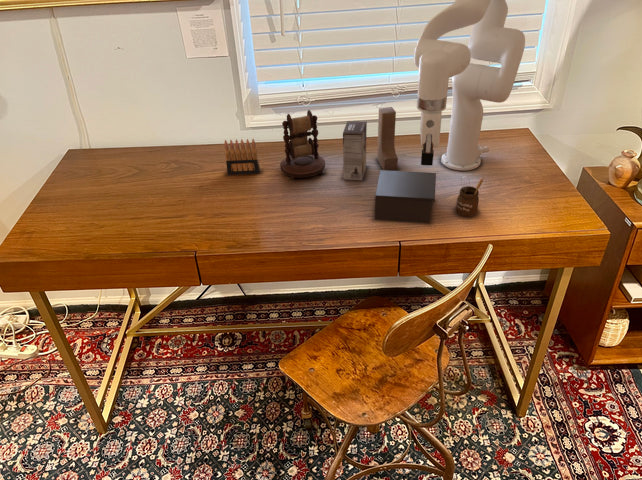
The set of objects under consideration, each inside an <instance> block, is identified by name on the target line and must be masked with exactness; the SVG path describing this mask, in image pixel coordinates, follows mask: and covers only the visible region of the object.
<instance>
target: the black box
mask: <svg viewBox="0 0 642 480" xmlns="http://www.w3.org/2000/svg"><path fill="white" fill-rule="evenodd" d="M374 201H375V202H374V221H391V222H402V223H403V222H405V223H417V224H419V223H421V224H430V221H431V213H432V204H433V201H421V200H404V199H386V198H375V197H374Z"/></svg>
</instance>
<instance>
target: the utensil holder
mask: <svg viewBox="0 0 642 480" xmlns="http://www.w3.org/2000/svg"><path fill="white" fill-rule="evenodd" d="M466 179H467V180H468V181H470V177H469V175H467V174H464V175H461V179H460V180H463V182H466ZM484 179H485V177H483V178H481V179H480V180H479V182H478V184H477V185H476V187H474V186H471V185H470V184H471V183H470V182H468V183H466V185H464V184H463V183H460V184H461V188H460V190H459V193H458V196H457V199H456V205H455V212H456V213H457V214H458V215H459V216H461V217H466V218H469V217H474V216H475V215H476V214H477V212H478V210H479V209H478V208H479V202H480V197H479V195H480V192H479V188H481V186H482V184H483V181H484Z"/></svg>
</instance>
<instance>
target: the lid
mask: <svg viewBox="0 0 642 480" xmlns="http://www.w3.org/2000/svg"><path fill="white" fill-rule="evenodd" d="M436 180H437V172H426V171H425V172H424V171H407V170H406V171H405V170H392V171H387V170H383V169H380V170H379V174H378V179H377V185H376V190H375V197H374V199H375V198H386V199H404V200H421V201H432V202H436V187H437V186H436V185H437V184H436V183H437V181H436Z"/></svg>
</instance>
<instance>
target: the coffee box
mask: <svg viewBox="0 0 642 480" xmlns="http://www.w3.org/2000/svg"><path fill="white" fill-rule="evenodd" d="M367 125H368V122H367V121H358V120H353V121H352V120H347V121H346V123H345V126H344V129H343V132H342V172H343V174H342V176H343V180H350V181H363V179H364V175H365V172H366V168H367V130H368V129H367V127H368V126H367Z"/></svg>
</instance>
